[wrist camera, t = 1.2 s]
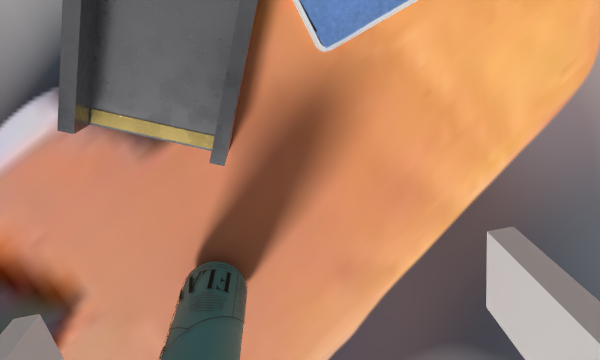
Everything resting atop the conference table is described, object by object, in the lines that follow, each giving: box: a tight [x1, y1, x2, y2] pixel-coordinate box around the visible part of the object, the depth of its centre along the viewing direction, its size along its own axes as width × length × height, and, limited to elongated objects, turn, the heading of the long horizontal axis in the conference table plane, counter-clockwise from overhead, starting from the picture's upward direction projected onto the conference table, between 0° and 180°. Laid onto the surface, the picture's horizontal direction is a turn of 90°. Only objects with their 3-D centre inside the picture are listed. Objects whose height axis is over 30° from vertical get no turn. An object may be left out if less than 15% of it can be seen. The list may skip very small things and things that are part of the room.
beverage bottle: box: [159, 262, 248, 360], centre depth 33 cm, size 6×7×20 cm
